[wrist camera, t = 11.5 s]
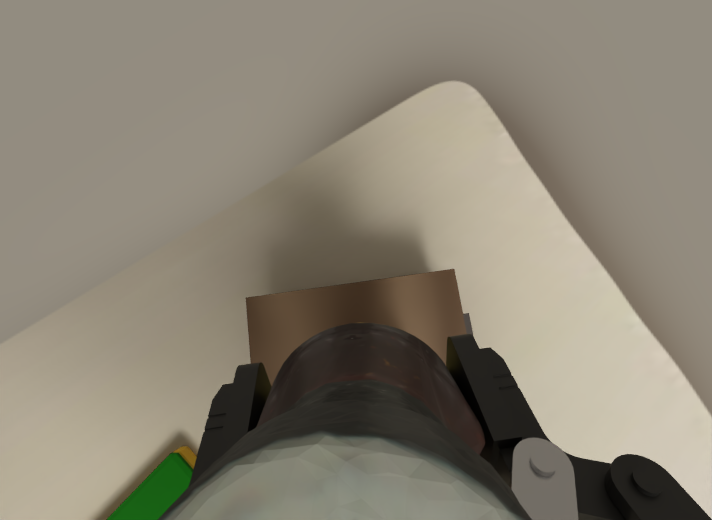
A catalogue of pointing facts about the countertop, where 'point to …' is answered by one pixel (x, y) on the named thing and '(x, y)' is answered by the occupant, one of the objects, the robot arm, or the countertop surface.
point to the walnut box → (356, 313)
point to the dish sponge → (159, 488)
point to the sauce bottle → (356, 441)
